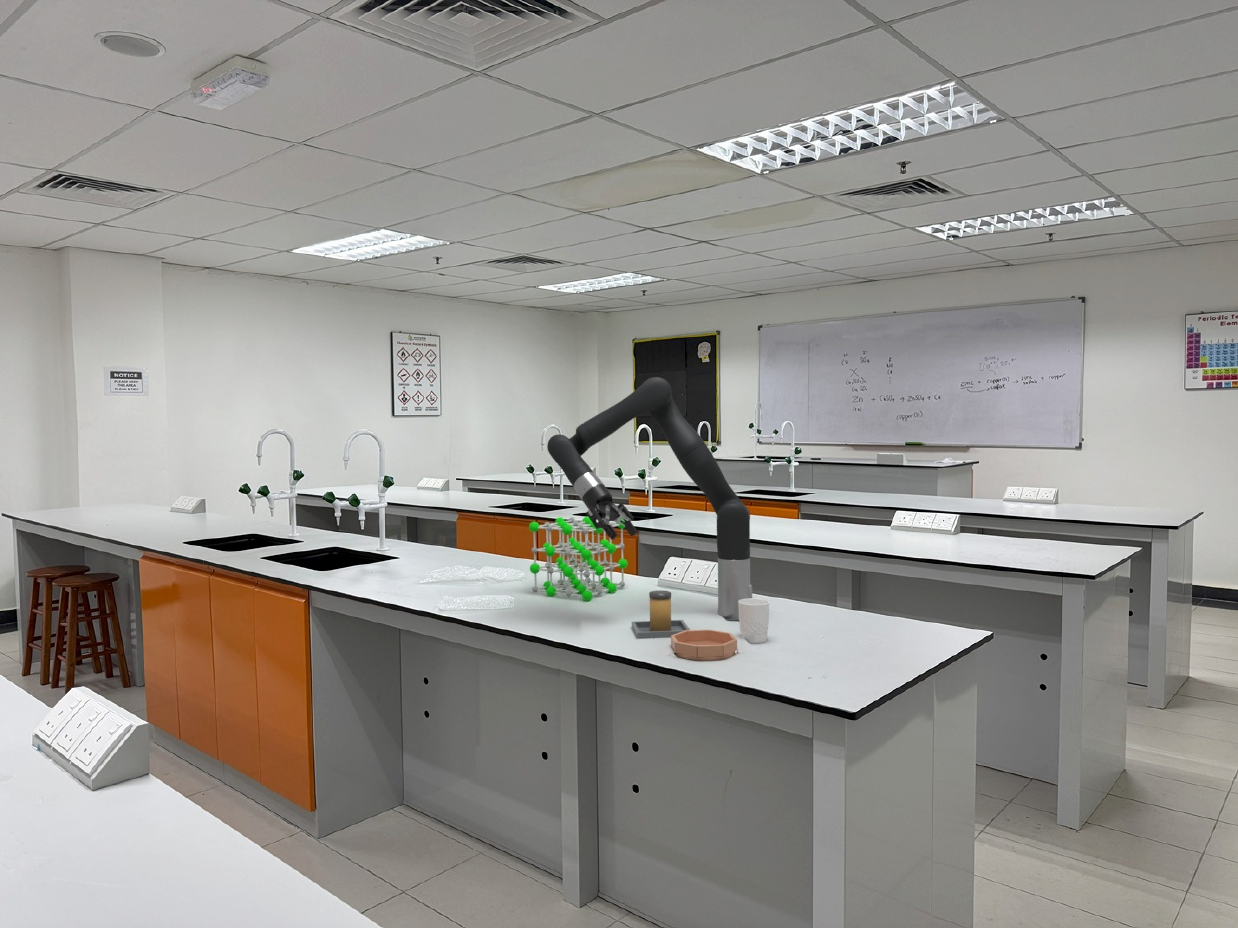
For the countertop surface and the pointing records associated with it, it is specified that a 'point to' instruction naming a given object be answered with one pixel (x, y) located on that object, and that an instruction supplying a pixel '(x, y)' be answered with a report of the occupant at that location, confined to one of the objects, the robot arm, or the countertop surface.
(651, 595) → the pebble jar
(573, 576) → the molecular structure model
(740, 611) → the white cup
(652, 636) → the parts tray
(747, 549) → the robot arm
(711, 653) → the terracotta bowl
